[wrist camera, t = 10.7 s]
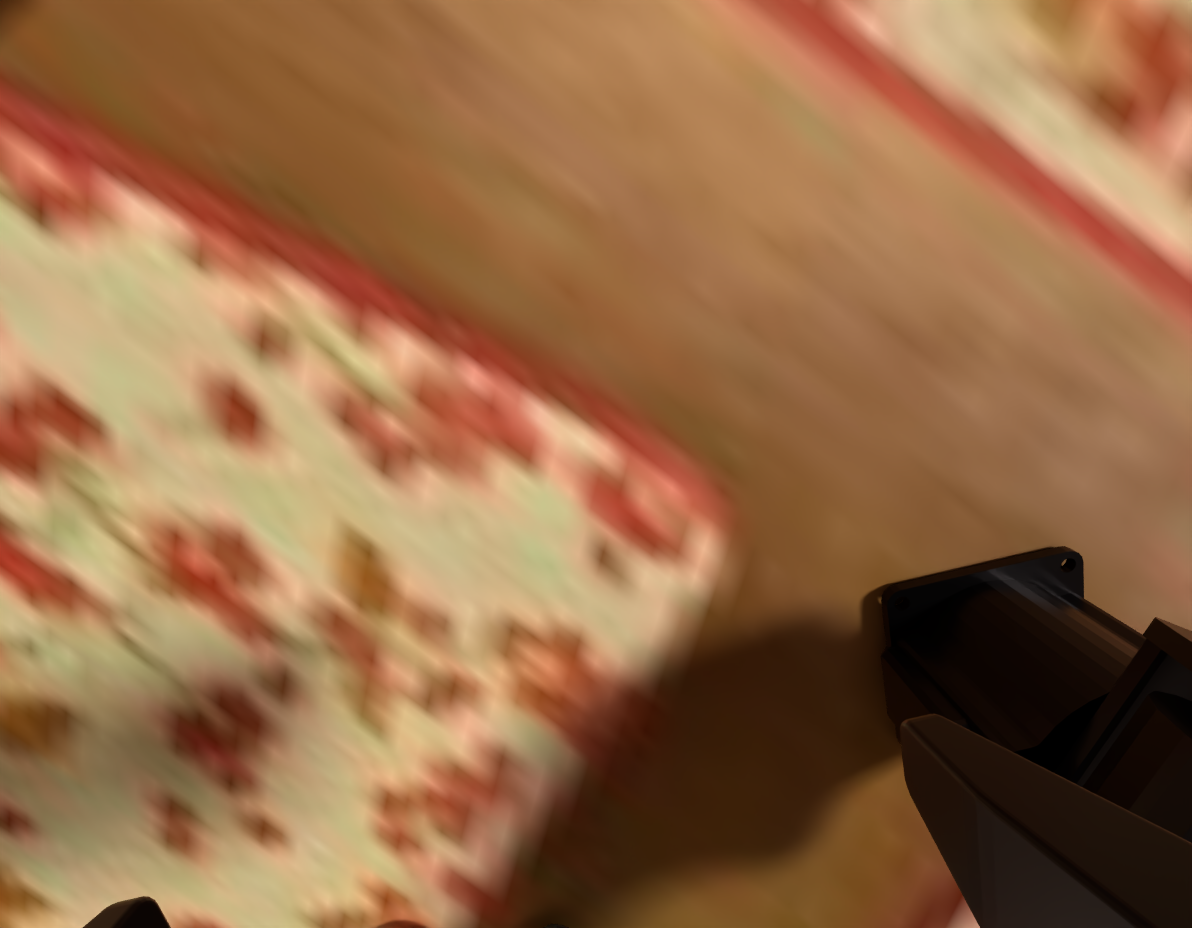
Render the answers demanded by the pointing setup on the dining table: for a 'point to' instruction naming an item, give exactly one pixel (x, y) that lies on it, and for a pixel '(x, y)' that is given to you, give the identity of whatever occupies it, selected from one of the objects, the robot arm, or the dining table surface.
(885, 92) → the dining table surface
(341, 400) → the dining table surface
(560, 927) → the walkie-talkie
